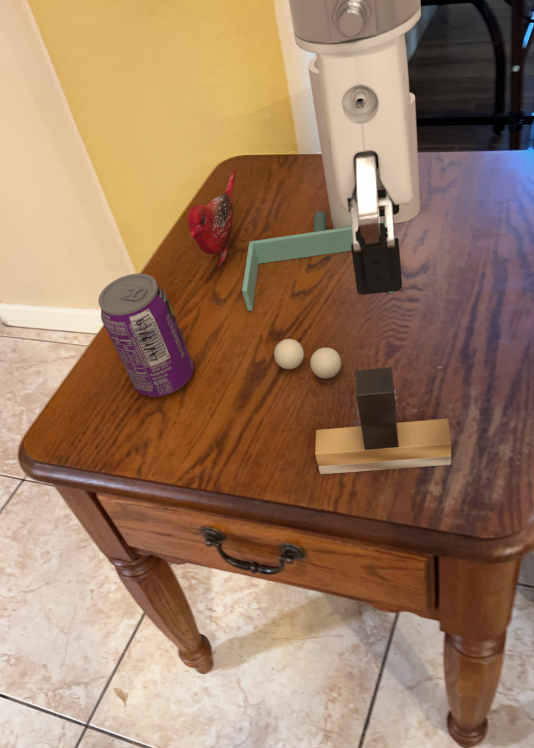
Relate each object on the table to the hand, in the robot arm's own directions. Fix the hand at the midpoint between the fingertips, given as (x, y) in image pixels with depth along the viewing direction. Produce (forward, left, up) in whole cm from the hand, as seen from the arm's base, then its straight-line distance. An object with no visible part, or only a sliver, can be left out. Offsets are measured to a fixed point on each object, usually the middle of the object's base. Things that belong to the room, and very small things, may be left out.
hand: (379, 250), depth 54 cm
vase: (+1, -35, -19) cm, 40 cm away
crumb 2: (+7, -7, -17) cm, 20 cm away
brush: (+1, +5, -19) cm, 20 cm away
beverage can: (+25, -9, -19) cm, 33 cm away
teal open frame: (+8, -27, -19) cm, 34 cm away
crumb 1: (+11, -9, -17) cm, 22 cm away
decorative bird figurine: (+21, -33, -19) cm, 43 cm away
